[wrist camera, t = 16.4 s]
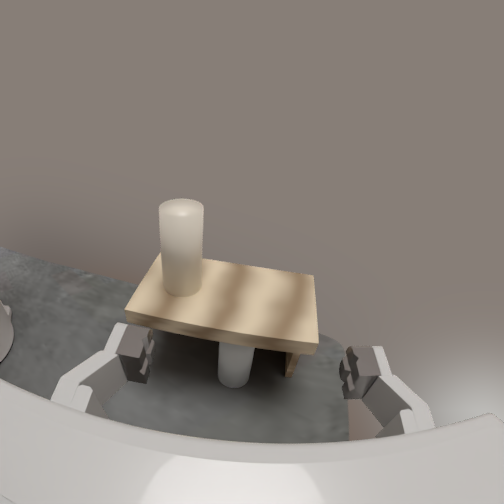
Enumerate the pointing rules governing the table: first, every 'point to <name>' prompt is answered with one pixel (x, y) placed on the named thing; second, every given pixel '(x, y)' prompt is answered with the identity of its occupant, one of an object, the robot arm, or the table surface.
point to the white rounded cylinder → (181, 246)
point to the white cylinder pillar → (234, 364)
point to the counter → (235, 308)
